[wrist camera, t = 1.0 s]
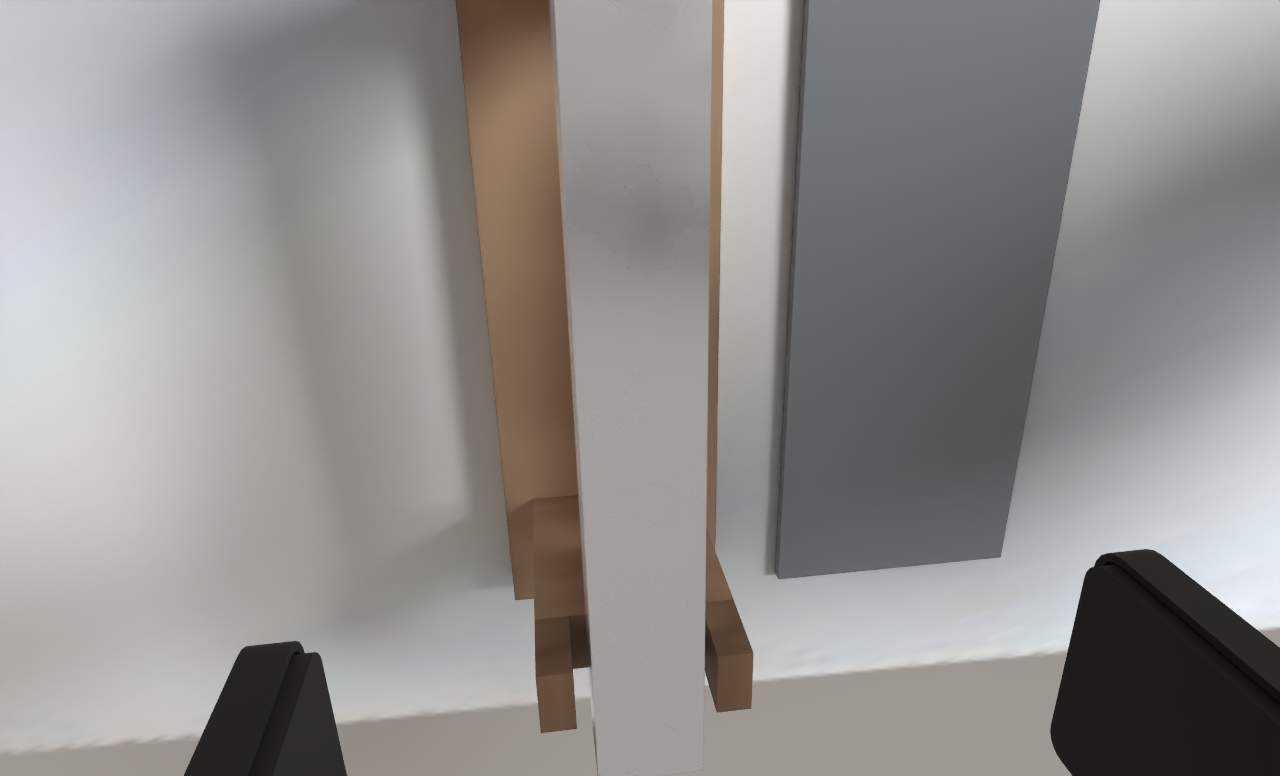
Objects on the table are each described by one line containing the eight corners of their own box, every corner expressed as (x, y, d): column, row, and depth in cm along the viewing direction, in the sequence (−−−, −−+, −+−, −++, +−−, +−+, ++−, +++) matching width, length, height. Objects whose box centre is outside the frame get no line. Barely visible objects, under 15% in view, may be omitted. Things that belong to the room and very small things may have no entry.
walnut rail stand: (715, -174, 24) (848, -323, 14) (707, 559, 35) (780, 768, 25) (442, -175, 24) (382, -334, 14) (515, 577, 34) (512, 802, 24)
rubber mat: (1127, -210, 25) (1138, -214, 25) (994, 550, 36) (1000, 557, 36) (815, -214, 24) (821, -218, 24) (775, 572, 35) (778, 579, 35)
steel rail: (684, -216, 17) (715, -267, 14) (684, 693, 26) (703, 770, 23) (536, -218, 16) (538, -270, 14) (590, 704, 26) (598, 783, 23)
